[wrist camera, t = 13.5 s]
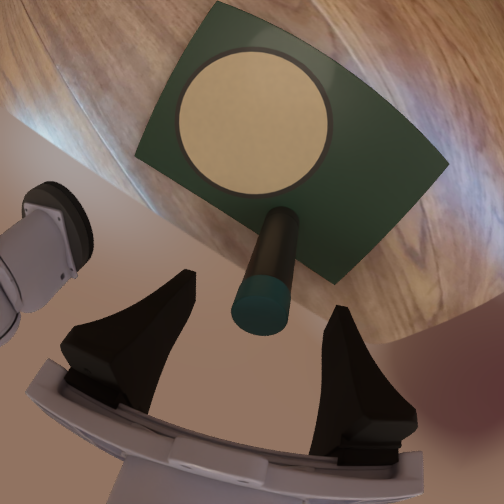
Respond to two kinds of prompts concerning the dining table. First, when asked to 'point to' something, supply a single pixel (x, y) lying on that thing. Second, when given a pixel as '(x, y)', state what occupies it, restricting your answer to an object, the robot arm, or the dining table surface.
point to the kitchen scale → (287, 140)
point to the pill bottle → (269, 276)
